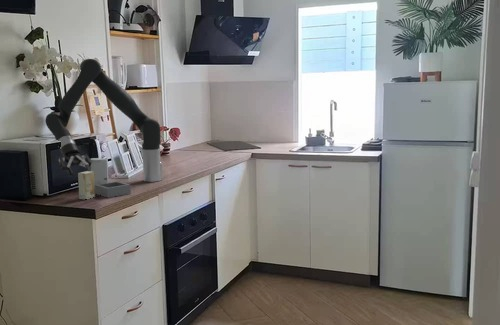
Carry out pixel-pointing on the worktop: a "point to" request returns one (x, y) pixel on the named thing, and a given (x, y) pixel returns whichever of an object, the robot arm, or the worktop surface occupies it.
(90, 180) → the skincare box
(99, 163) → the skincare box
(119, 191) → the tray
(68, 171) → the robot arm
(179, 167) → the worktop surface
